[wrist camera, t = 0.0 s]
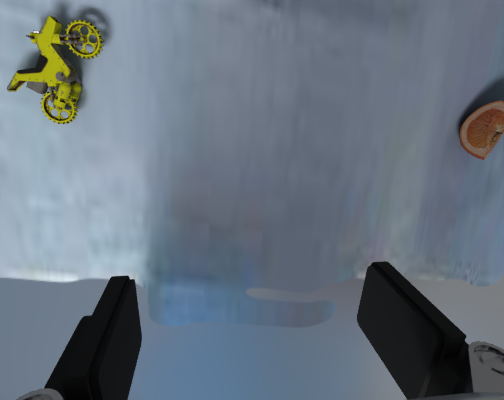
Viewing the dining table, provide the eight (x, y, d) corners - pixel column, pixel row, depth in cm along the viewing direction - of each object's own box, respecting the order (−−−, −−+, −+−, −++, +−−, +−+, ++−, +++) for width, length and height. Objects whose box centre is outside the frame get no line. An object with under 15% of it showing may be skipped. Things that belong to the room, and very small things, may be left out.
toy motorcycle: (63, 131, 33) (-5, 99, 31) (77, 127, 37) (17, 98, 35) (101, 29, 30) (29, -13, 28) (113, 36, 34) (50, -1, 32)
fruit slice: (474, 92, 43) (506, 93, 38) (504, 111, 45) (538, 114, 40) (442, 144, 45) (469, 150, 41) (471, 160, 47) (500, 167, 43)
